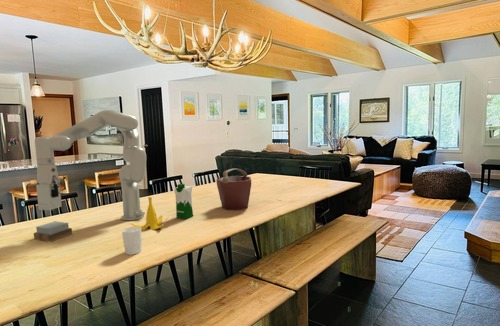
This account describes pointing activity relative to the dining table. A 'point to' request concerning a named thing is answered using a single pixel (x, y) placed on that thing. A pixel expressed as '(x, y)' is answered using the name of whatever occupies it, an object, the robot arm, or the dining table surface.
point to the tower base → (52, 237)
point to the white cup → (132, 240)
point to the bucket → (234, 190)
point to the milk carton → (183, 201)
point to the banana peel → (151, 218)
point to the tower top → (52, 228)
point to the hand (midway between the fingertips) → (49, 196)
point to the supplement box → (47, 197)
